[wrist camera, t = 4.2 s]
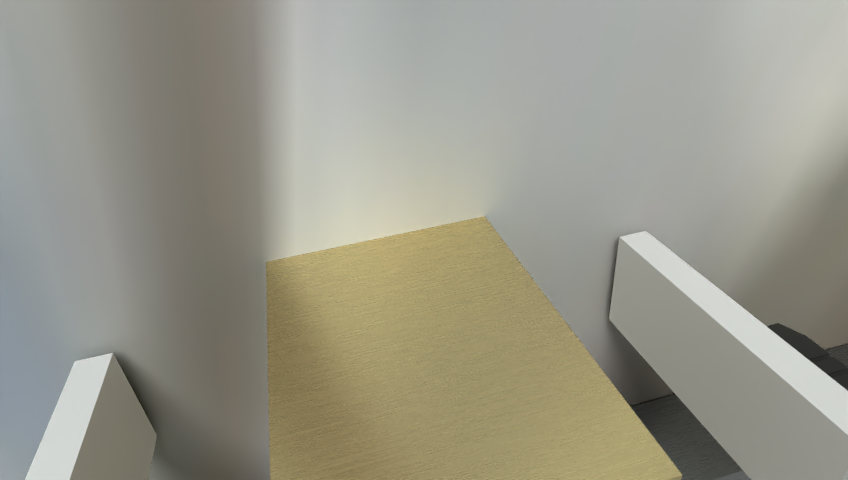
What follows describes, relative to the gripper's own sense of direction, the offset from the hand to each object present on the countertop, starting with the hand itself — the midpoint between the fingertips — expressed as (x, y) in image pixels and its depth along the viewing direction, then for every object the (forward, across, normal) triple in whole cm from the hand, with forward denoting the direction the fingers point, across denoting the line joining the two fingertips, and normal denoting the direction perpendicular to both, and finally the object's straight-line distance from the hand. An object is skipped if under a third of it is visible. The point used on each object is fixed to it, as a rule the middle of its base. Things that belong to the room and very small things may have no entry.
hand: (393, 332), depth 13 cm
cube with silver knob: (0, 0, 0) cm, 0 cm away
